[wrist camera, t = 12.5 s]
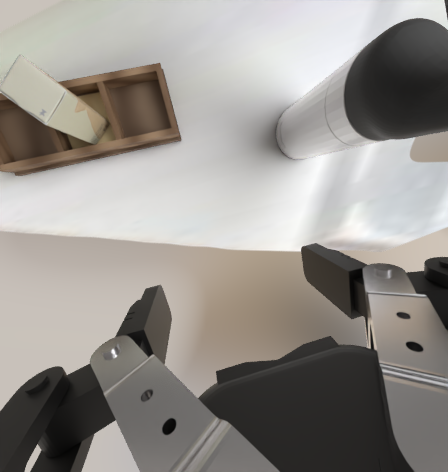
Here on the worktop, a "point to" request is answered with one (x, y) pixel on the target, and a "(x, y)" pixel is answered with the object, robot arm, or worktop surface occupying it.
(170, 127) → the tray
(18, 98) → the box
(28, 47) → the worktop surface
